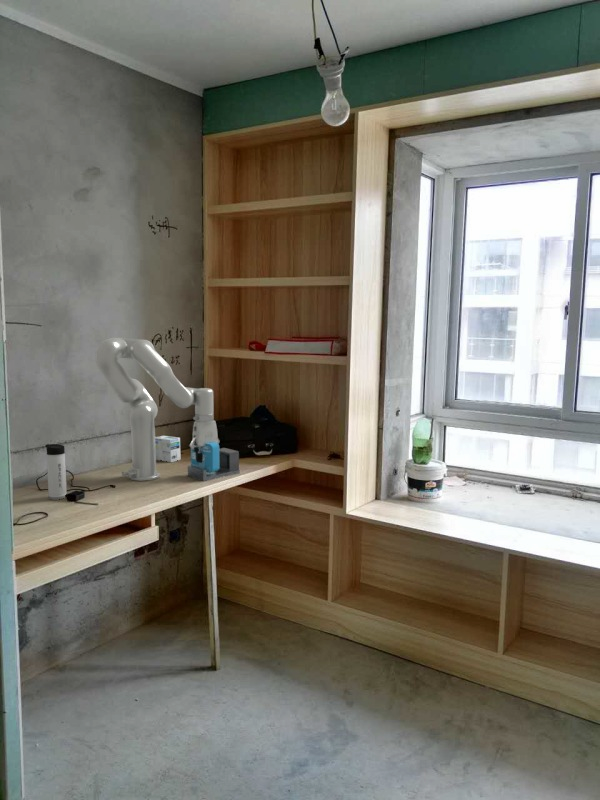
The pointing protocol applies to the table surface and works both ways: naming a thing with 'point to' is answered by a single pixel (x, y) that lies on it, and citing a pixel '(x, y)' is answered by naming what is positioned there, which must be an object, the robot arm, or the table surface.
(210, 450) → the data package
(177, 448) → the light bulb box
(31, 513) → the table surface
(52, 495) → the travel mug
